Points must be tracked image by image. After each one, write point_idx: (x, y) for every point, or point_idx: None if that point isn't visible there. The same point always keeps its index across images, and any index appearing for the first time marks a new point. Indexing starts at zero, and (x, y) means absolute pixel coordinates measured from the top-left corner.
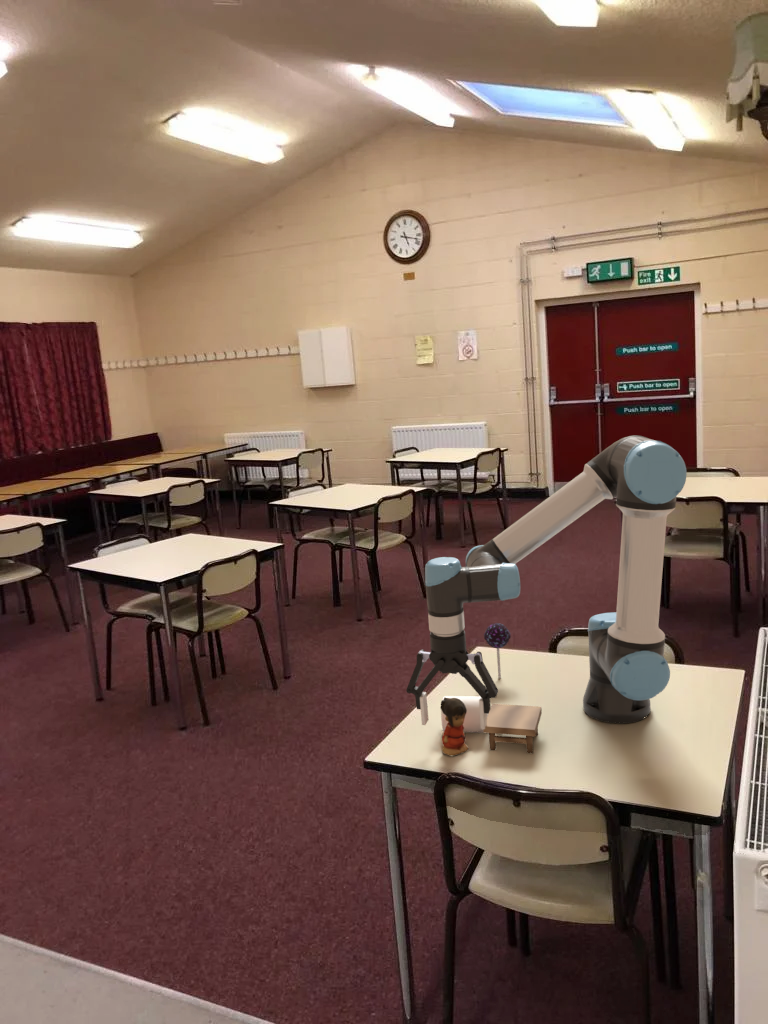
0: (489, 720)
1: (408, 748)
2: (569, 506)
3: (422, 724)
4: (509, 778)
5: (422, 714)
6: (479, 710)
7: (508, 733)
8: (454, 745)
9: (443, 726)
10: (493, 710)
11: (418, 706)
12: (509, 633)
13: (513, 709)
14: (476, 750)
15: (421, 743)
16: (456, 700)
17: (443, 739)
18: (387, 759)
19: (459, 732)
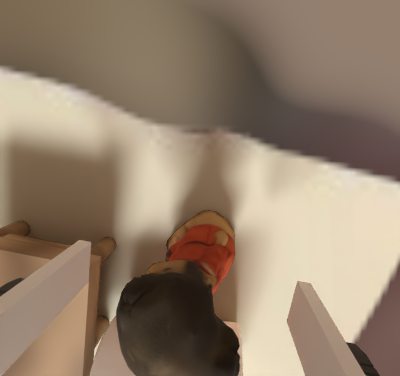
0: (75, 303)
1: (329, 254)
2: None
3: (309, 284)
4: (53, 103)
5: (322, 312)
6: (111, 363)
7: (24, 243)
8: (196, 225)
9: (235, 326)
10: (71, 364)
11: (355, 355)
12: None
13: (13, 363)
14: (147, 238)
15: (293, 278)
16: (145, 359)
17: (229, 245)
18: (391, 198)
19: (175, 257)
